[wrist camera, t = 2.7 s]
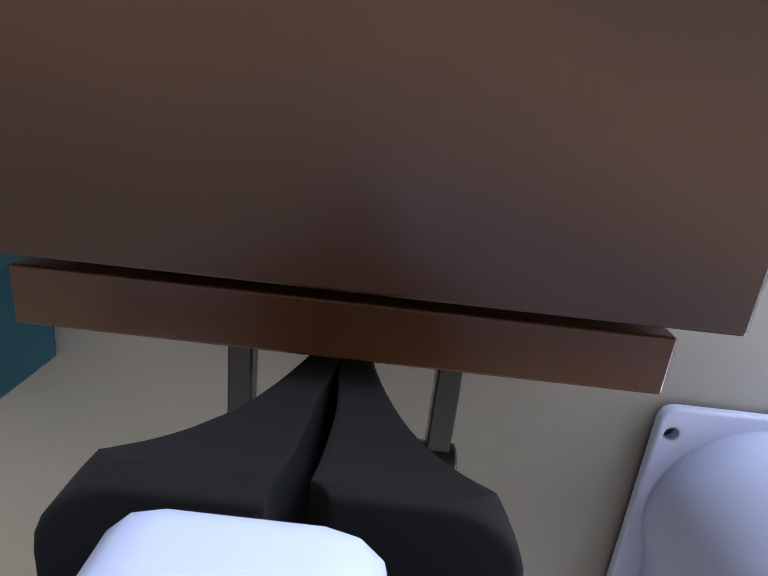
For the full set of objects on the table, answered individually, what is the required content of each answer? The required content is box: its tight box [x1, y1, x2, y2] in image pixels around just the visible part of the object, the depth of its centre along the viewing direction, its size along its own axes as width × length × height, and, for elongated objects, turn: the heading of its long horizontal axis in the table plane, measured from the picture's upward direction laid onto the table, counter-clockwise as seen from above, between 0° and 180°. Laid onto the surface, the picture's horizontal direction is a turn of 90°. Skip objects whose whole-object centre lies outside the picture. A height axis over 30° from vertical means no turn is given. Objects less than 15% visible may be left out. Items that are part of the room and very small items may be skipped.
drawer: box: [9, 256, 677, 470], centre depth 13 cm, size 18×12×7 cm
